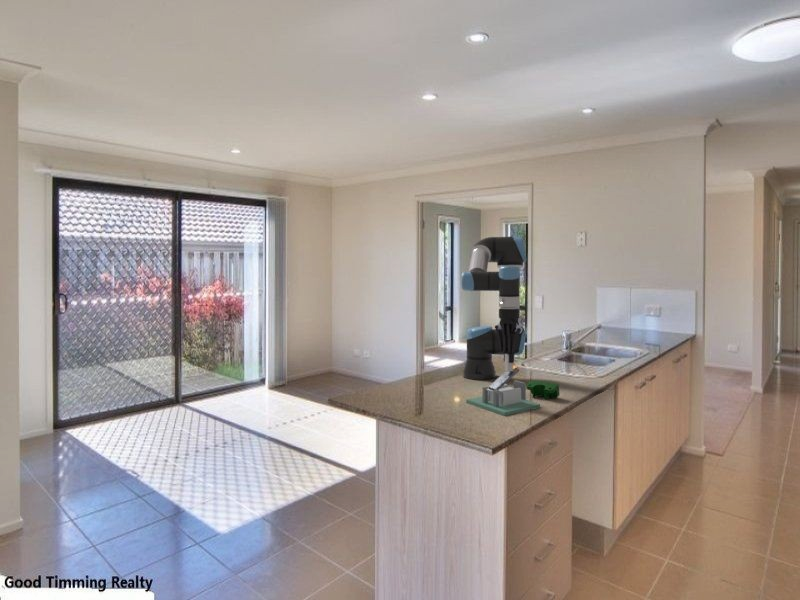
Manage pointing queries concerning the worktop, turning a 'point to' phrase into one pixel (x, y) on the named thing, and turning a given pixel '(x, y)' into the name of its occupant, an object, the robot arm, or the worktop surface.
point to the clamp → (543, 389)
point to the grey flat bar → (503, 379)
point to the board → (504, 408)
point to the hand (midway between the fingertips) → (508, 371)
